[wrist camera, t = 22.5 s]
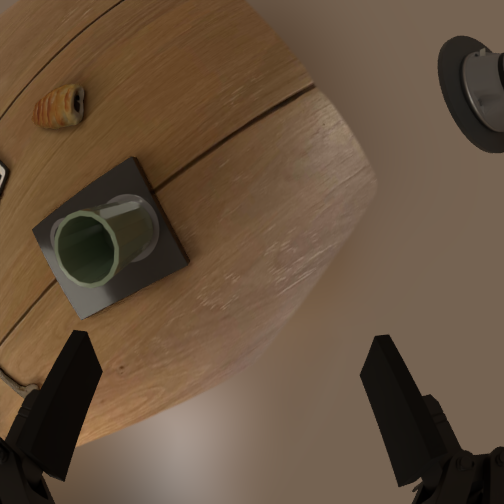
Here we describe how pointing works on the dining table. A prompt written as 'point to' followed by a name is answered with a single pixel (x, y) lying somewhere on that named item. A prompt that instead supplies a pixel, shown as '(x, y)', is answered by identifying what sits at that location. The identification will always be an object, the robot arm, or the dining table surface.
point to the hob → (137, 271)
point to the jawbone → (18, 386)
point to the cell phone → (3, 175)
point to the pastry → (60, 107)
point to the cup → (102, 241)
